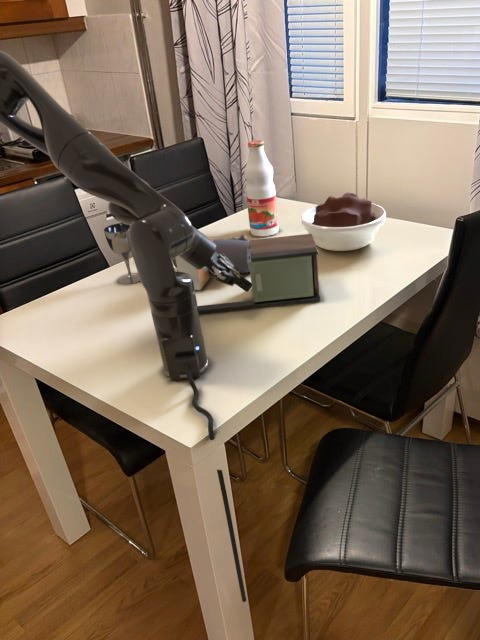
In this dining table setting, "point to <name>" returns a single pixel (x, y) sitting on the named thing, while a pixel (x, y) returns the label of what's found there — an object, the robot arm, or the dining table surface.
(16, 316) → the dining table surface
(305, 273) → the door
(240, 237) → the animal figurine
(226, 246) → the bluetooth speaker
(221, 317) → the dining table surface
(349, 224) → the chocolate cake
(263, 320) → the dining table surface
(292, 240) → the box
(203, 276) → the small box
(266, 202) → the fruit juice
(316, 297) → the track
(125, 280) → the wine glass
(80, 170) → the robot arm
